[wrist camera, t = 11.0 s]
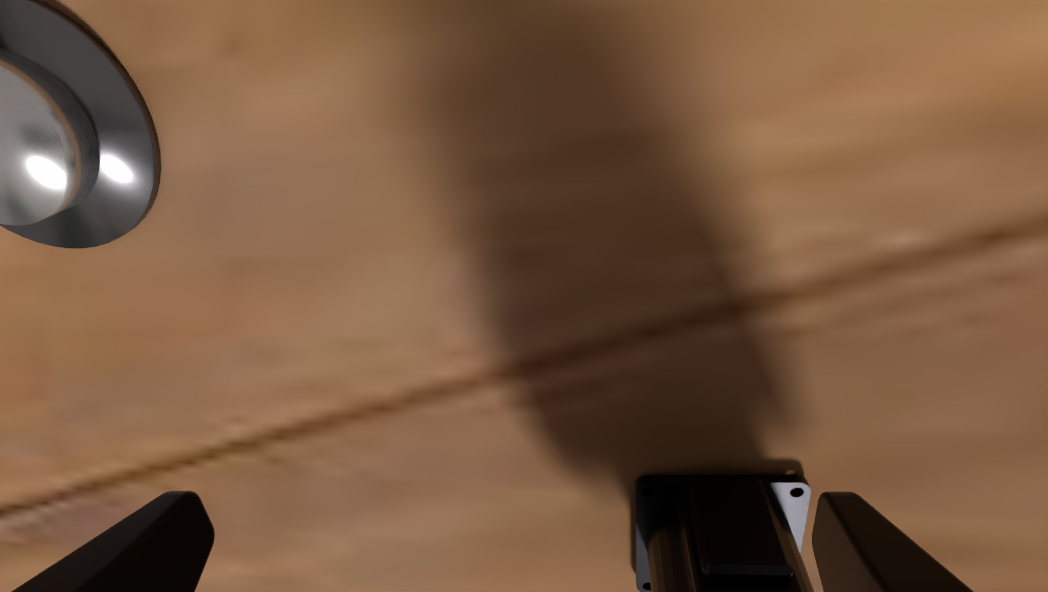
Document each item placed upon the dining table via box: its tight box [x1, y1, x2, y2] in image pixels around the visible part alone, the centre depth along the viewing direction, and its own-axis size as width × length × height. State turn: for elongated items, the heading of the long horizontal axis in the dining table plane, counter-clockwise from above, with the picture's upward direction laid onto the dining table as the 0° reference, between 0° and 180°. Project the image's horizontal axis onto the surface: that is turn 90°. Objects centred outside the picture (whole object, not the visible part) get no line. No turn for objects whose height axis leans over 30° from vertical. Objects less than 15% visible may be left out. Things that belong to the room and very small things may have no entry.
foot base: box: [0, 0, 161, 248], centre depth 19 cm, size 8×8×1 cm
